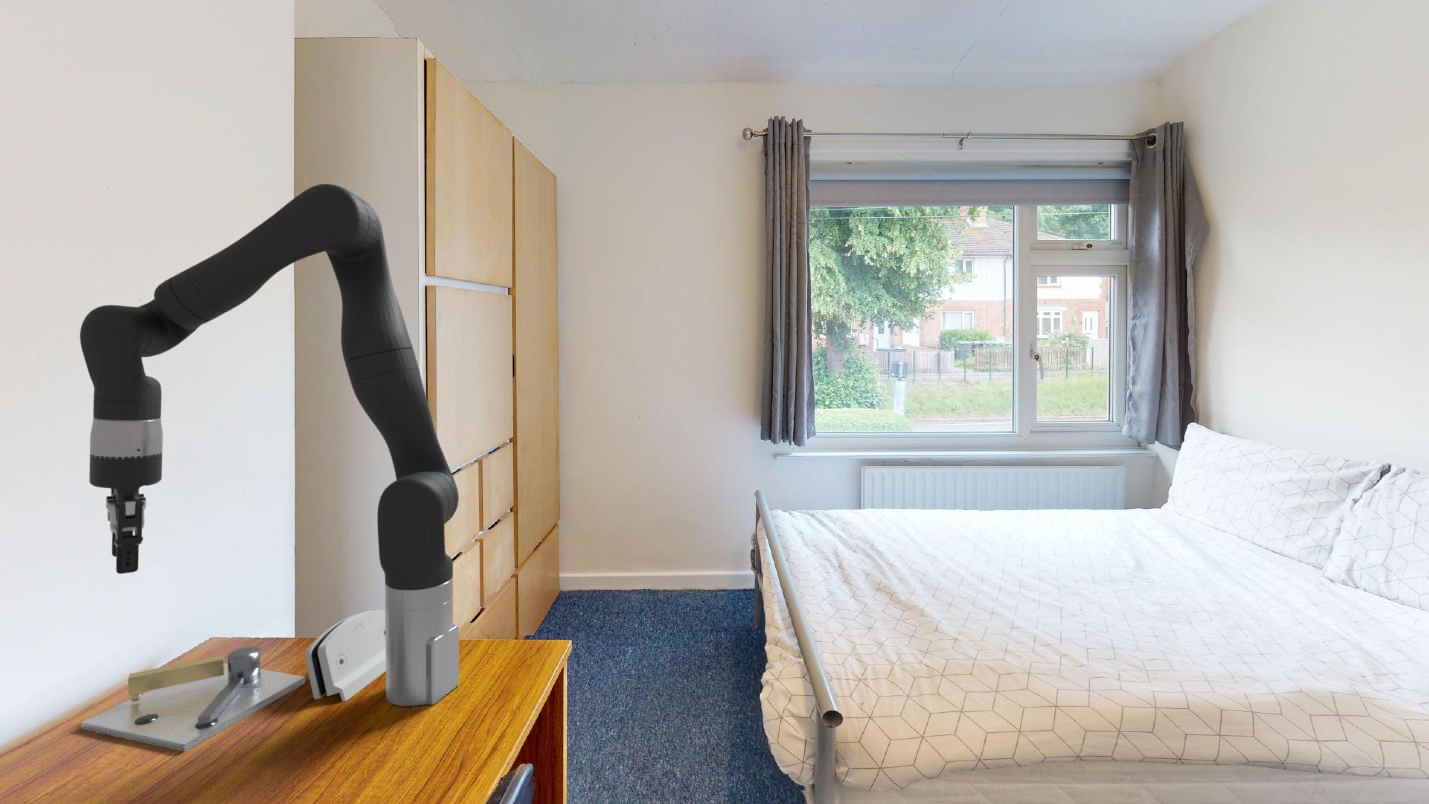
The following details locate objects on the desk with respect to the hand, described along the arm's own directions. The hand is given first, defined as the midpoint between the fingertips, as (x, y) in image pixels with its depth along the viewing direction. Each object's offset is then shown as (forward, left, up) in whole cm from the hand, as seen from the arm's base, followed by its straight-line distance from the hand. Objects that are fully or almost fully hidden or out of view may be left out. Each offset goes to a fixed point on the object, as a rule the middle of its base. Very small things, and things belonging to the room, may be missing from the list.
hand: (124, 563), depth 92 cm
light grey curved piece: (-24, -16, -21) cm, 36 cm away
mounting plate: (-10, -2, -20) cm, 23 cm away
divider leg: (-6, -2, -19) cm, 20 cm away
